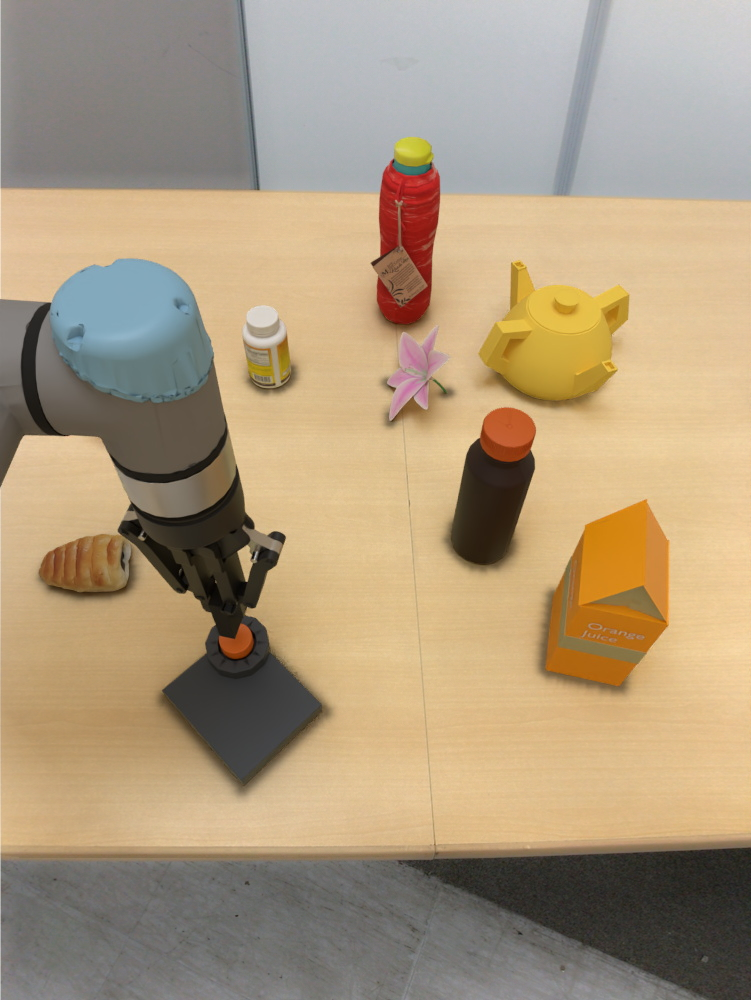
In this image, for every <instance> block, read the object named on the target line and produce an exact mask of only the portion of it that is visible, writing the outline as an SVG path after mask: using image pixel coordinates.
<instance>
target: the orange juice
mask: <svg viewBox="0 0 751 1000" xmlns="http://www.w3.org/2000/svg"><path fill="white" fill-rule="evenodd" d="M564 569H565V570H564V572H563V574H562V576H561V578H560V580H559V582H558V585H557V586H556V589H555V590H554V593H553V595H552V600H551V601H552V602H551V612H550V621H549V630H548V638H547V639H548V640H547V649H546V658H545V659H546V660H545V669H544V670H545V671H547V672H553V673H557V674H560V675H561V674H562V675H567V676H570V677H575V678H578V679H579V678H580V679H583V680H589V681H594V682H597V683H602V684H607V685H611V686H615V687H620V686H621V685H622V684H623V682H624V681H625V680H626V679H627V677H628V676H629V675H630V674H631V673H632V671H633V670H634V669H635V667H636V666H637V665H639V664H640V662H641V661H642V660H643V659H644V657H645V656H646V655H647V653H648V651H649V650H650V649H651V648H652V646H653V645H654V644H655V643H656V642H657V640H658V639H659V638H660V636H661V635H662V634H663V633H664V632H665V631H666V630H667V628H668V627H669V625H670V624H669V623H670V621H669V620H670V540H669V539H668V538H667V536H666V535H665V532H664V531H663V529H662V527H661V525H660V523H659V522H658V520H657V518H656V516H655V514H654V512H653V511H652V509H651V507H650V505H649V503H648V498H645V499H643V500H641V501H639V502H635V503H633V504H632V505H629V506H627V507H625V508H622V509H619V510H617V511H615V512H612V513H609V514H608V515H604V516H603V517H601V518H600V517H599V518H598V519H595V520H593V521H591V522H588V523H586V524H584V530H583V532H582V533H581V535H580V538H579V540H578V542H577V544H576V546H575V549H574V550H573V553H572V555H571V556H570V558H569V561H568V562H567V564H566V565H565V568H564Z"/></svg>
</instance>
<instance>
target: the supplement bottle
mask: <svg viewBox="0 0 751 1000" xmlns="http://www.w3.org/2000/svg"><path fill="white" fill-rule="evenodd" d="M279 317H280V316H279V313H278V311H277V310H276V309H275V308H274V307H273V306H270V305H265V304H260V305H256V306H253V307H252V308H250V309H248V311H247V312H246V315H245V323H244V325H243V327H242V329H241V336H242V342H243V348H244V353H245V358H246V363H247V369H248V370H247V371H248V374H249V375H248V376H249V378H250V380H251V381H252V382H253V384H255V385H256V386H258V387H260V388H263V389H276V388H278V387H281V386H284V385H285V384H286V383H287V382H288V381H289V380H290V377H291V375H292V365H291V356H290V348H289V339H288V330H287V326H286V323H285V322H284V321H283V320H282V319H280V318H279Z"/></svg>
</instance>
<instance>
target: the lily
mask: <svg viewBox="0 0 751 1000" xmlns="http://www.w3.org/2000/svg"><path fill="white" fill-rule="evenodd" d="M439 329H440V324H437V325H435V326H434V328H432V329H431V330H430V332H429V333H428V334H427V335H426V337H424V339H423V341H422V342H421V344H420V343H419V342H418V341H417V340H416V339H415V338H414V337H413V336H412V335H410V334H409V333H408V332H407V331H403V332H402V333H401V335H400V339H399V345H398V362H399V366H400V367H399V368H397V369H396V370H395V371H394V372H393V373H392V374H391V375H390V377H389V378H388V379H387V382H386V383H387V385H388V386H390V387H392V388H395V390H394V391H393V394H392V398H391V401H390V407H389V413H388V421H389V422H392V420H394V418H395V417H396V416H397V415H398V413H400V411H401V410H402V409H403V407H404V406H405V405H406V404H407V403H408V402H409V401H410V400H411V399H412V397H413V399H414V401H415V402H416V404H418V406H420V407H421V408H422V409H424V410H428V408H429V395H430V393H429V392H430V390H429V389H430V381H432V382H434V383H435V384H436V385H437V386H438V387H440V389H441V390H442V391H443V392H444V394H448V391H447V389H445V387H444V386H443V385H442V384H441V383H440V382H439V381H438V380H437V379H435V378H434V377H433V375H434V374H435V373H437V372H438V371H439V370H440V369H441V368H442V367H443V366H444V365H446V363H447V362H448V361H449V360H450V358H451V357H450V355H449V354H447V352H443V351H441V350H437V349H435V345H436V340H437V337H438V332H439Z"/></svg>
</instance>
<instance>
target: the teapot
mask: <svg viewBox="0 0 751 1000" xmlns="http://www.w3.org/2000/svg"><path fill="white" fill-rule="evenodd" d="M509 292H510V293H509V294H510V297H509V298H510V299H509V311H508V312H507V313H506V315H505V316H504V317H503V318H502V320H501V321H495V322H494V324H493V326H492V327H491V330H490V331H489V333H488V335H487V336H486V338H485V340H484V342H483V344H482V346H481V347H480V349H479V351H478V353H477V354H478V357H479V358H480V359H481V361H482V363H483V364H484V366H486V367H487V368H490V369H491V370H493V371H495V372H497V373H498V374H500V375H501V376H502V377H503V378H504V380H506V381H507V382H508V383H509V384H510V385H511V386H512V387H514V388H515V389H516V390H518V391H519V392H521V393H523V394H525V395H527V396H529V397H531V398H535V399H538V400H542V401H554V402H555V401H565V400H571V399H575V398H578V397H581V396H583V395H586V394H590V393H594V392H596V391H598V390H599V389H600V388H601V387H602V386H603V385H604V384H605V383H606V382H607V381H608V380H609V379H611V378H612V377H613V376H614V375H615V374H616V373H617V372H618V371H619V369H618V367H617V366H616V364H615V363H614V362H613V360H612V356H613V340H612V335H614V334H615V333H616V331H618V330H619V329H620V328H621V327H622V326H623V325H624V324H625V323H626V322H627V321H628V320H629V312H630V310H629V309H630V293H629V292H628V291H627V290H626V289H625V288H624V287H623V286H621V285H620V284H618V285H615V286H613V287H611V288H609V289H607V290H606V291H604V292H602V293H600V294H598V295H596V296H591V295H590V294H589V293H588V292H586V291H584V290H582V289H581V288H578V287H575V286H571V285H566V284H552V285H545V286H542V287H540V288H538V289H536V288H535V286H534V283H533V281H532V279H531V276H530V273H529V271H528V266H527V265H526V264H525V263H524V262H523V261H522V260H521V259H517V260H514V261H511V262H510V291H509Z"/></svg>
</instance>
